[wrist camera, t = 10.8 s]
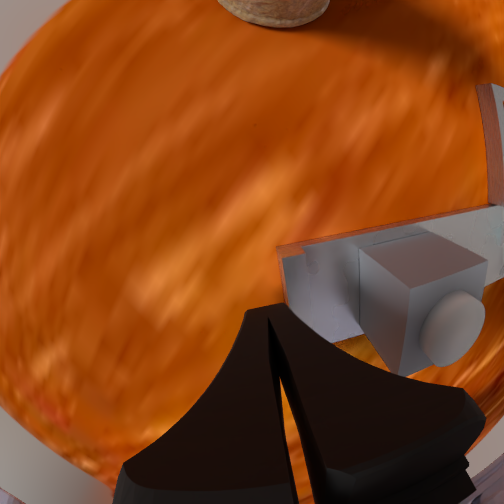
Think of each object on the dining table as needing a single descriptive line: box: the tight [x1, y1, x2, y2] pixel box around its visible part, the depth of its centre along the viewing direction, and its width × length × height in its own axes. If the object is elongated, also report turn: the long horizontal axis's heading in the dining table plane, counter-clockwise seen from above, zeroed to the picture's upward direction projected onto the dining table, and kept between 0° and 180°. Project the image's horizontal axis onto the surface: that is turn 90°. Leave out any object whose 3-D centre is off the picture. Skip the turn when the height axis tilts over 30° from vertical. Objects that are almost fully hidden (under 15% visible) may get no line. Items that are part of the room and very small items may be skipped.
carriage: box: [359, 232, 488, 377], centre depth 8 cm, size 4×4×4 cm
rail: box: [276, 204, 504, 343], centre depth 10 cm, size 5×15×1 cm, turn 100°
